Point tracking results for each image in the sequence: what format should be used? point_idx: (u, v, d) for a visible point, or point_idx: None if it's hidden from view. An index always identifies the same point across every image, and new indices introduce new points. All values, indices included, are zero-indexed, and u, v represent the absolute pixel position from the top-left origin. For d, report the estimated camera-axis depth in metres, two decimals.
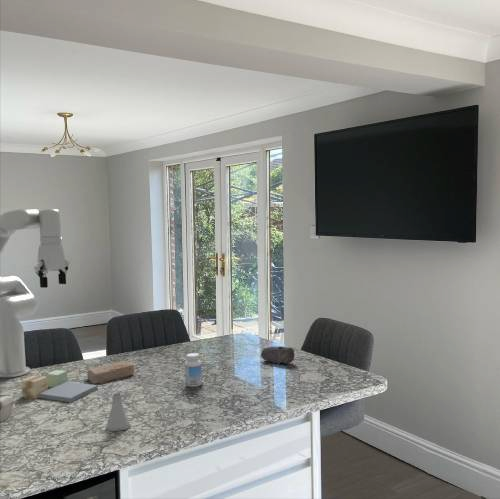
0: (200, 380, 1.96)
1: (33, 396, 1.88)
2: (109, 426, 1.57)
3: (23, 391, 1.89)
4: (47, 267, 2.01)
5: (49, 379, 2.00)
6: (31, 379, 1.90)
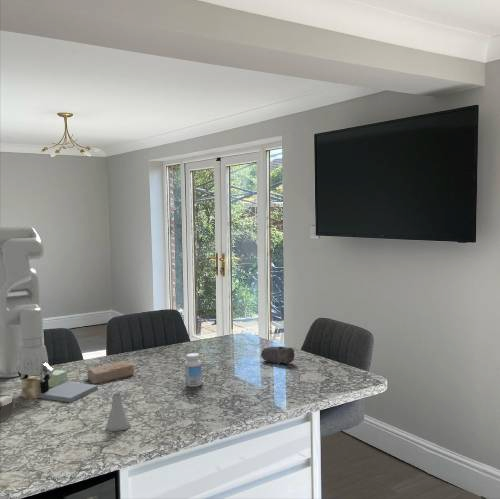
0: (200, 380, 1.96)
1: (33, 396, 1.88)
2: (109, 426, 1.57)
3: (23, 391, 1.89)
4: None
5: None
6: (31, 379, 1.90)
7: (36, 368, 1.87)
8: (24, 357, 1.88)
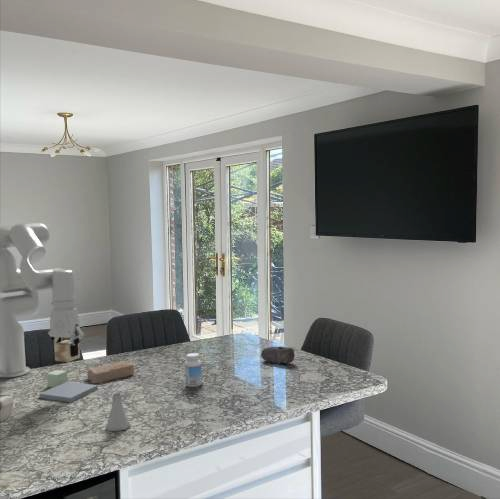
0: (200, 380, 1.96)
1: (66, 359, 1.87)
2: (109, 426, 1.57)
3: (56, 355, 1.89)
4: None
5: (49, 379, 2.00)
6: (64, 343, 1.89)
7: (68, 330, 1.86)
8: (56, 319, 1.88)
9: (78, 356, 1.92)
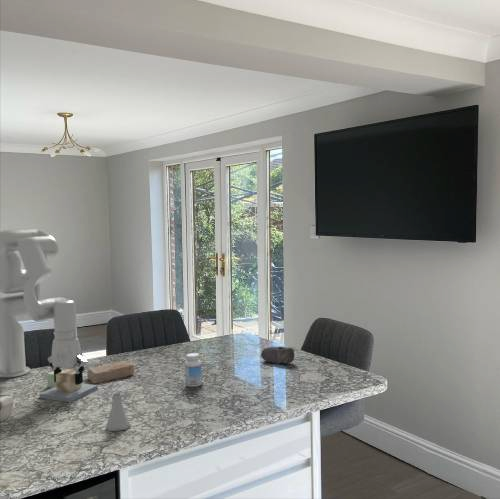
0: (200, 380, 1.96)
1: (68, 390, 1.88)
2: (109, 426, 1.57)
3: (57, 385, 1.90)
4: None
5: (49, 379, 2.00)
6: (65, 373, 1.90)
7: (70, 361, 1.87)
8: (58, 350, 1.88)
9: (79, 386, 1.92)
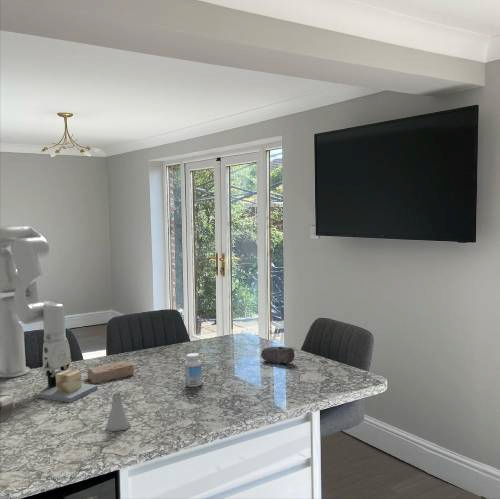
0: (200, 380, 1.96)
1: (68, 390, 1.88)
2: (109, 426, 1.57)
3: (57, 385, 1.90)
4: None
5: None
6: (65, 373, 1.90)
7: (69, 356, 2.03)
8: (58, 350, 1.98)
9: (79, 386, 1.92)
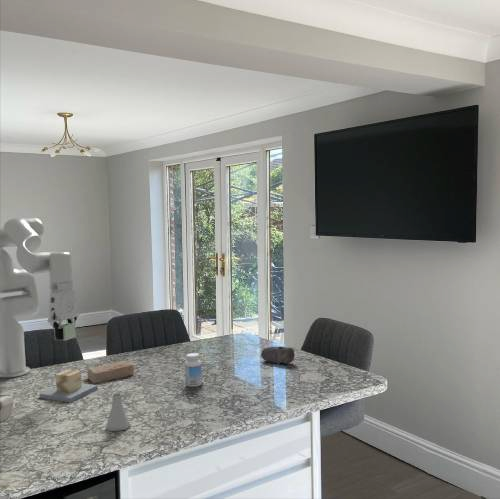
0: (200, 380, 1.96)
1: (68, 390, 1.88)
2: (109, 426, 1.57)
3: (57, 385, 1.90)
4: None
5: None
6: (65, 373, 1.90)
7: (76, 308, 1.93)
8: (66, 301, 1.88)
9: (79, 386, 1.92)
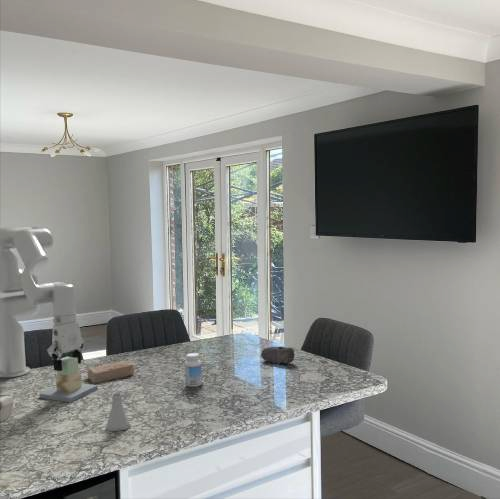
0: (200, 380, 1.96)
1: (68, 390, 1.88)
2: (109, 426, 1.57)
3: (57, 385, 1.90)
4: None
5: None
6: None
7: (79, 340, 1.93)
8: (69, 333, 1.88)
9: (79, 386, 1.92)
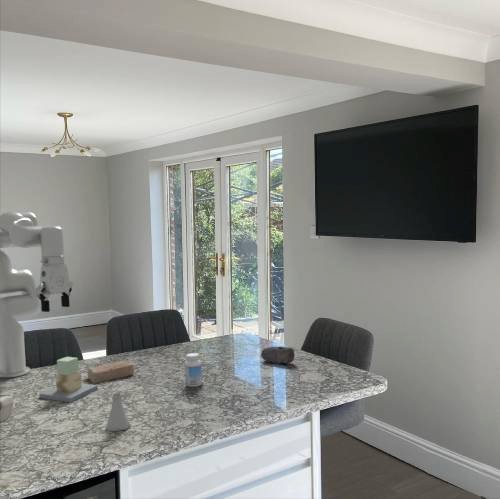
0: (200, 380, 1.96)
1: (68, 390, 1.88)
2: (109, 426, 1.57)
3: (57, 385, 1.90)
4: None
5: (59, 366, 1.89)
6: None
7: (67, 283, 1.93)
8: (57, 275, 1.88)
9: (79, 386, 1.92)
